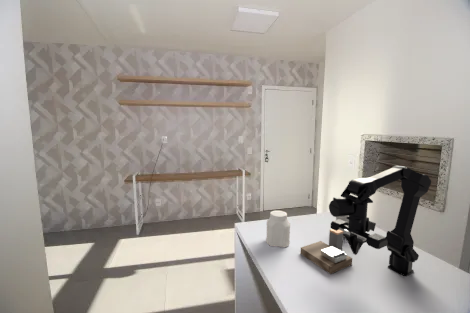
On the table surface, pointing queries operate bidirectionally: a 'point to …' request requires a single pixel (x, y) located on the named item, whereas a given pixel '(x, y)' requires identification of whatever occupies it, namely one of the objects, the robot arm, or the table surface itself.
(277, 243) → the jar
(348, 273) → the table surface
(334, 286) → the table surface
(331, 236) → the plug
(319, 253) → the socket board
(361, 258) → the table surface
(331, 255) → the panel
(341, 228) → the can
